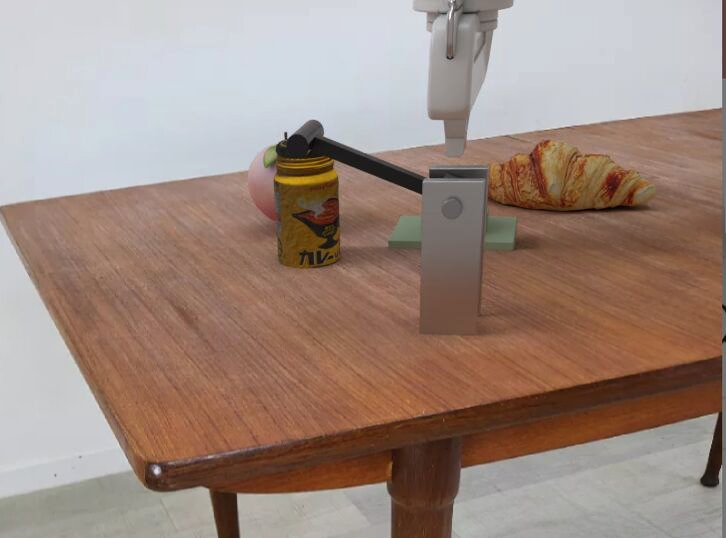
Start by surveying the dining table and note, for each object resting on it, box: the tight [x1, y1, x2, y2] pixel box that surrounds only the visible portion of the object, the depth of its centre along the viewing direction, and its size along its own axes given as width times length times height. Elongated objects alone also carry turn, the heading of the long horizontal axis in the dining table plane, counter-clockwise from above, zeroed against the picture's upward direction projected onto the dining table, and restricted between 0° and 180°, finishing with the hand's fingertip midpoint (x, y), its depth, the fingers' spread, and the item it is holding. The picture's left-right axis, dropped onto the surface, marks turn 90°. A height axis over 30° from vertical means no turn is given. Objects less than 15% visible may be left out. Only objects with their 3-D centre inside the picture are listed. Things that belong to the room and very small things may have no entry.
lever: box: [286, 119, 458, 196], centre depth 70 cm, size 14×6×2 cm, turn 77°
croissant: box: [488, 139, 658, 212], centre depth 106 cm, size 21×10×8 cm, turn 66°
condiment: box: [274, 138, 342, 270], centre depth 89 cm, size 7×8×12 cm
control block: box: [387, 206, 518, 251], centre depth 94 cm, size 12×9×4 cm
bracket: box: [418, 164, 489, 337], centre depth 72 cm, size 10×8×13 cm
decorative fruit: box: [247, 131, 288, 223], centre depth 102 cm, size 9×8×10 cm
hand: (455, 154), depth 90 cm, fingers closed
